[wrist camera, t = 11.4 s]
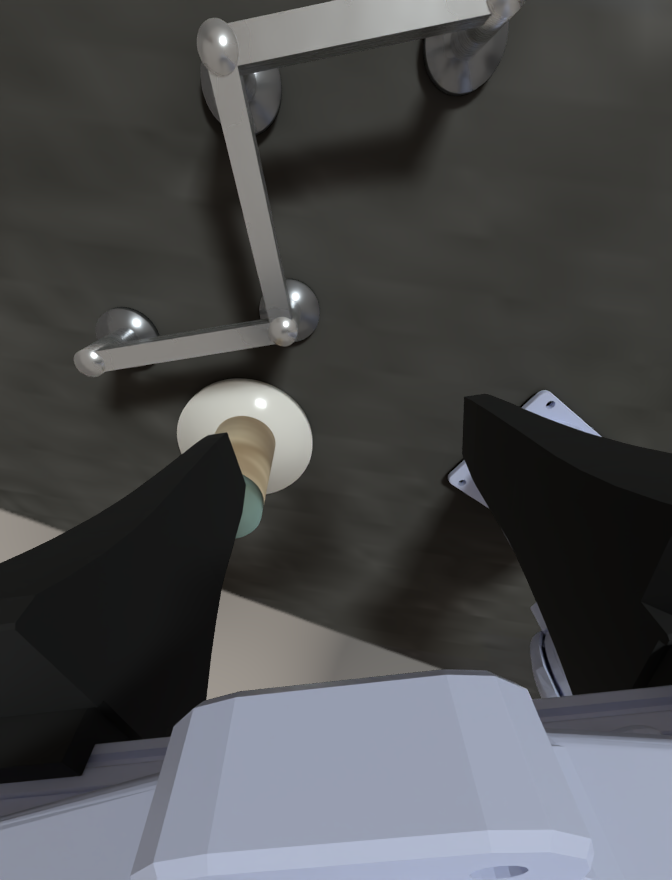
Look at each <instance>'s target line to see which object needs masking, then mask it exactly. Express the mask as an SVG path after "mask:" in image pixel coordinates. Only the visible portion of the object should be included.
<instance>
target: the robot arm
mask: <svg viewBox="0 0 672 880" xmlns="http://www.w3.org/2000/svg"><path fill="white" fill-rule="evenodd" d="M550 401H552V402H551V404H550V405H548V406H546V404H547V403H548V402H550ZM462 454H463V457H464V460H463V461H462V462H461V463H460V464H459V465H458V466H457V467H456V468H455V469H454V470H452V471H451V472H450V473H449V475H448V480H449V482H450V483H451V484H452V485H453V486H455V487H456V488H458V489H460V490H461V491H463V492H464V493H466V494H467V495H469V496H470V497H472V498H474V499H475V500H477V501H478V502H480V503H481V504H483V505H484V506H486V507H488V508H489V509H490V511H491V512H492V514H493V516H494V517H495V519H496V521H497V522H498V524H499V526H500V527H501V529H502V531H503V533H504V534H505V536H506V538H507V540H508V542H509V543H510V545H511V547H512V549H513V551H514V552H515V554H516V557H517V559H518V561H519V563H520V566H521V568H522V570H523V572H524V574H525V577H526V579H527V581H528V583H529V586H530V588H531V590H532V593H533V595H534V597H535V600H536V603H535V604H534V605H533V606H531V610H532V612H533V614H534V616H535V618H536V620H537V622H538V624H539V626H540V628H541V631H540V632H538V633H536V634H535V635H534V637H533V638H532V641H531V643H530V655H531V662H532V668H533V674H534V678H535V682H536V685H537V688H538V690H539V693H540V695H541V698H542V699H531V697H530V694H529V692H528V690H527V689H526V688H524V687H522V686H520V685H518V684H516V683H515V682H512V681H510V680H507V679H505V678H503V677H500V676H498V675H496V674H493V673H491V672H489V671H486V670H451V669H442V670H432V671H424V672H414V673H405V674H396V675H386V676H378V677H369V678H360V679H349V680H340V681H332V682H322V683H313V684H303V685H294V686H285V687H276V688H267V689H258V690H249V691H240V692H236V693H232V694H228V695H224V696H220V697H217V698H213V699H209V700H206V697H207V688H208V679H209V670H210V661H211V653H212V646H213V639H214V632H215V625H216V619H217V613H218V607H219V600H220V594H221V589H222V585H223V581H224V576H225V573H226V569H227V566H228V562H229V559H230V555H231V552H232V548H233V545H234V541H235V538H236V534H237V531H238V527H239V523H240V520H241V516H242V512H243V506H244V498H245V489H246V483H245V480H244V477H243V475H242V472H241V469H240V466H239V463H238V461H237V458H236V455H235V452H234V450H233V447H232V444H231V441H230V438H229V436H228V433H227V432H225V433H219V434H212V435H207V436H206V437H204V438H202V439H201V440H200V441H198V442H197V443H196V444H194V445H193V446H192V447H190V448H189V449H188V450H187V451H185V452H184V453H183V454H182V455H180V456H179V457H178V458H177V459H175V460H174V461H173V462H171V463H170V464H169V465H168V466H166V467H165V468H164V469H163V470H161V471H160V472H159V473H157V474H156V475H155V476H153V477H152V478H151V479H149V480H148V481H147V482H145V483H144V484H143V485H141V486H140V487H138V488H137V489H136V490H134V491H133V492H132V493H130V494H129V495H127V496H126V497H124V498H123V499H121V500H120V501H118V502H117V503H115V504H113V505H112V506H110V507H109V508H107V509H105V510H104V511H102V512H101V513H99V514H97V515H96V516H94V517H92V518H90V519H89V520H87V521H85V522H83V523H81V524H79V525H77V526H76V527H74V528H72V529H70V530H68V531H66V532H65V533H63V534H61V535H59V536H57V537H55V538H53V539H52V540H49V541H47V542H45V543H43V544H41V545H39V546H37V547H35V548H33V549H31V550H29V551H26V552H24V553H22V554H20V555H18V556H15V557H13V558H11V559H9V560H7V561H4V562H2V563H0V880H672V454H671V453H666V452H662V451H657V450H652V449H647V448H642V447H638V446H634V445H630V444H626V443H622V442H618V441H614V440H611V439H607V438H604V437H601V436H600V435H599V434H598V433H597V432H595V431H594V430H593V429H592V428H591V427H590V426H589V425H587V424H586V423H585V422H584V421H583V420H582V419H581V418H579V417H578V416H577V415H576V414H575V413H574V412H572V411H571V410H570V409H569V408H568V407H567V406H566V405H564V404H563V403H562V402H561V401H560V400H559V399H558V398H556V397H555V396H554V395H553V394H552V393H551V392H549V391H547V390H542V391H539V392H538V393H537V394H536V395H534V396H533V397H532V398H531V399H530V400H529V401H528V402H527V403H526V404H525V405H524V406H522V407H518V406H516V405H514V404H511V403H509V402H507V401H504V400H502V399H499V398H497V397H494V396H491V395H488V394H481V395H474V396H467V397H464V420H463V448H462ZM461 480H464V481H462V482H459V481H461Z"/></svg>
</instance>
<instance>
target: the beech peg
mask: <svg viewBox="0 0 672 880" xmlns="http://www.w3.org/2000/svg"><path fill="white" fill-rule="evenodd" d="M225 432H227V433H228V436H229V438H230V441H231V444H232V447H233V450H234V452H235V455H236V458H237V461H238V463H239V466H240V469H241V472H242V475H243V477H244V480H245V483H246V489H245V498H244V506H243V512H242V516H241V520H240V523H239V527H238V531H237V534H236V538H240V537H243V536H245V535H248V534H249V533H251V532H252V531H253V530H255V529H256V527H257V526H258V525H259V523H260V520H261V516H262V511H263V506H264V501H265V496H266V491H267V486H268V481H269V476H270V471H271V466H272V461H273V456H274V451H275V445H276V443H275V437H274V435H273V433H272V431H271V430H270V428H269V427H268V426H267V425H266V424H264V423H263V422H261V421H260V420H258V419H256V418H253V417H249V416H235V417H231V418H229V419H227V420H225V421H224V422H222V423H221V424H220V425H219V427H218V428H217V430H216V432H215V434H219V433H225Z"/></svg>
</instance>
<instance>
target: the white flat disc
mask: <svg viewBox="0 0 672 880" xmlns="http://www.w3.org/2000/svg"><path fill="white" fill-rule="evenodd" d="M235 416H249V417H253V418H256V419H258V420H260V421H261V422H263V423H264V424H266V425H267V426H268V427H269V428H270V430H271V431H272V433H273V435H274V437H275V443H276V445H275V451H274V456H273V461H272V466H271V471H270V476H269V481H268V486H267V491H266V494H270V493H273V492H277V491H279V490H282V489H284V488H286V487H287V486H289V485H291V484H292V483H293V482H295V481H296V480H297V479H298V478H299V477H300V476H301V475H302V473H303V472H304V471H305V469H306V467H307V465H308V463H309V461H310V458H311V453H312V430H311V427H310V423H309V421H308V419H307V416H306V415H305V413H304V411H303V410H302V408H301V407H300V406H299V405H298V404H297V402H296V401H295V400H293V399H292V398H291V397H290V396H289V395H288V394H286V393H285V392H283V391H282V390H280V389H278V388H277V387H275V386H273V385H270V384H268V383H265V382H262V381H258V380H253V379H246V378H234V379H226V380H221V381H218V382H215V383H212V384H210V385H208V386H206V387H204V388H203V389H201V390H200V391H199V392H197V393H196V394H195V395H194V396H193V397H192V398H191V399H190V401H189V402H188V404H187V405H186V406H185V408H184V409H183V411H182V413H181V415H180V418H179V421H178V426H177V440H178V445H179V448H180V451H181V454H183V453H184V452H185V451H187V450H188V449H189V448H190V447H192V446H193V445H194V444H196V443H197V442H198V441H200V440H201V439H202V438H204V437H206V436H207V435H212V434H215V432H216V430H217V428H218V427H219V425H220V424H221V423H222V422H224V421H225V420H227V419H229V418H231V417H235Z"/></svg>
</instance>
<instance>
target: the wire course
mask: <svg viewBox="0 0 672 880" xmlns="http://www.w3.org/2000/svg"><path fill="white" fill-rule="evenodd" d="M524 2H525V0H335V1H331V2H326V3H321V4H316V5H312V6H307V7H302V8H298V9H293V10H288V11H283V12H279V13H274V14H269V15H265V16H260V17H255V18H250V19H246V20H241V21H236V22H232V23H226V22H224V21H223V20H221V19H218V18H210V19H208V20H206V21H205V22H204V23H203V24H202V25H201V27H200V29H199V31H198V35H197V49H198V53H199V56H200V58H201V60H202V61H201V68H200V78H201V86H202V91H203V94H204V98H205V100H206V103H207V105H208V107H209V109H210V111H211V112H212V114H213V115H214V116H215V118H216V119H217V120H218V121H219V122H220V123H221V125H222V129H223V133H224V137H225V141H226V146H227V150H228V154H229V158H230V162H231V166H232V170H233V174H234V178H235V182H236V186H237V191H238V195H239V199H240V203H241V207H242V211H243V215H244V219H245V223H246V227H247V232H248V236H249V240H250V244H251V248H252V252H253V256H254V260H255V264H256V268H257V273H258V277H259V281H260V285H261V289H262V293H263V296H262V298H261V301H260V306H259V312H260V318H261V319H260V320H254V321H248V322H242V323H236V324H230V325H224V326H218V327H212V328H206V329H200V330H194V331H188V332H182V333H176V334H170V335H164V336H159V333H158V331H157V329H156V327H155V326H154V324H153V323H152V322H151V321H150V320H149V318H147V317H146V316H145V315H144V314H142V313H141V312H139V311H137V310H134V309H131V308H127V307H117V308H113V309H111V310H109V311H107V312H105V313H103V314H102V315H101V316H100V318H99V319H98V321H97V324H96V337H97V340H98V341H96V342H94V343H92V344H91V345H89V346H87V347H85V348H84V349H82V350H80V351H78V352H77V353H76V354H75V356H74V363H75V366H76V367H77V369H78V370H79V371H80V372H81V373H83V374H84V375H87V376H90V377H97V376H100V375H101V374H103V373H104V372H105V371H112V370H118V369H124V368H130V367H141V366H145V365H149V364H155V363H161V362H167V361H174V360H180V359H186V358H192V357H198V356H205V355H211V354H217V353H223V352H229V351H236V350H242V349H248V348H254V347H260V346H267V345H273V344H276V345H279V346H289V345H291V344H292V343H293V342H297V341H300V340H303V339H305V338H307V337H308V336H309V335H310V334H312V332H313V331H314V330H315V328H316V327H317V324H318V321H319V316H320V307H319V302H318V299H317V297H316V295H315V293H314V292H313V291H312V289H311V288H310V287H309V286H307V285H306V284H305V283H303V282H301V281H299V280H296V279H285V274H284V270H283V265H282V260H281V255H280V250H279V246H278V241H277V236H276V231H275V227H274V222H273V217H272V212H271V207H270V203H269V198H268V193H267V188H266V183H265V179H264V174H263V169H262V164H261V160H260V155H259V150H258V145H257V140H256V136H255V135H258V134H260V133H262V132H264V131H265V130H267V129H268V128H269V127H270V126H271V124H272V123H273V122H274V120H275V118H276V116H277V114H278V111H279V108H280V104H281V97H282V85H281V78H280V73H279V70H278V68H281V67H286V66H291V65H296V64H301V63H305V62H310V61H315V60H320V59H325V58H330V57H335V56H340V55H345V54H350V53H355V52H359V51H364V50H369V49H374V48H379V47H384V46H389V45H394V44H399V43H404V42H409V41H413V40H418V39H423V38H424V43H423V54H424V62H425V66H426V70H427V73H428V75H429V77H430V79H431V81H432V82H433V83H434V85H435V86H436V87H437V88H438V89H439V90H441V91H442V92H444V93H446V94H448V95H452V96H461V95H465V94H468V93H470V92H472V91H474V90H476V89H477V88H478V87H480V86H481V85H482V84H483V83H484V82H486V81H487V80H488V78H489V77H490V76H491V75H492V74H493V72H494V71H495V69H496V68H497V66H498V64H499V62H500V60H501V58H502V56H503V53H504V50H505V47H506V42H507V38H508V26H509V20H510V19H511V18H512V17H513V15H514V14H515V13H516V12H517V11H518V10H519V9H520V8H521V7H522V5H523V4H524Z"/></svg>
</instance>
